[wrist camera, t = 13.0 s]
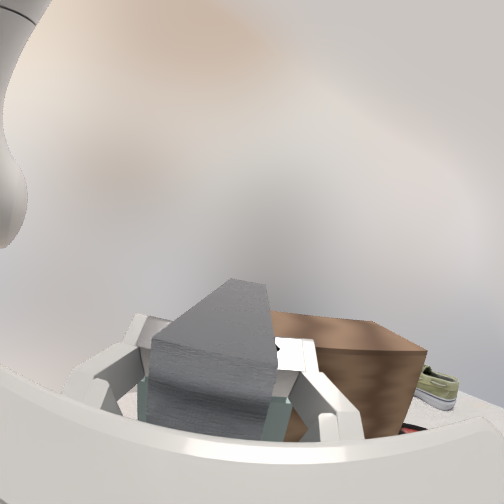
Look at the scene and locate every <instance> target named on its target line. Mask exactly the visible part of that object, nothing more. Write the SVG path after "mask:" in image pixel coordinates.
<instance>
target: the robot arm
mask: <svg viewBox="0 0 504 504" xmlns="http://www.w3.org/2000/svg"><path fill="white" fill-rule="evenodd" d="M51 1H52V0H0V249H1V248H6V247H7V246H8V245H9V244H10V243H11V242H12V241H13V240H14V238H15V237H16V235H17V234H18V232H19V230H20V228H21V226H22V224H23V221H24V218H25V214H26V210H27V201H28V199H27V198H28V193H27V186H26V181H25V178H24V175H23V173H22V170H21V168H20V167H19V165H18V164H17V162H16V161H15V160H14V158H13V156H12V155H11V152H10V150H9V148H8V146H7V142H6V139H5V135H4V129H3V104H4V98H5V93H6V90H7V86H8V83H9V81H10V78H11V75H12V73H13V70H14V68H15V65H16V63H17V61H18V58H19V56H20V54H21V52H22V50H23V48H24V46H25V44H26V42H27V41H28V39H29V37H30V35H31V34H32V32H33V30H34V29H35V27H36V25H37V24H38V22H39V20H40V19H41V17H42V16H43V14H44V12H45V11H46V9H47V7H48V6H49V4H50V3H51ZM172 322H173V321H170V320H166V319H161V318H156V317H152V316H147V315H143V314H139V313H137V314H136V315H135V316H134V318H133V319H132V322H131V323H130V326H129V328H128V330H127V332H126V334H125V336H124V338H123V340H122V342H117V343H115V344H113V345H112V346H110V347H108V348H107V349H105V350H103V351H102V352H100V353H98V354H97V355H95V356H93V357H92V358H90V359H88V360H87V361H85V362H83V363H82V364H80V365H78V366H77V367H75V368H73V370H72V371H71V373H70V376H69V377H68V379H67V381H66V383H65V385H64V387H63V389H62V391H61V393H57V392H55V391H53V390H50V389H48V388H46V387H43V386H41V385H39V384H37V383H35V382H33V381H31V380H29V379H27V378H25V377H23V376H21V375H19V374H17V373H15V372H14V371H12V370H10V369H8V368H6V367H5V366H3V365H1V364H0V504H504V437H503V435H502V433H501V432H500V431H499V430H498V429H497V428H496V427H495V426H494V425H493V424H491V423H490V422H489V421H488V420H487V419H485V418H484V417H481V416H478V417H474V418H470V419H467V420H464V421H460V422H457V423H453V424H449V425H445V426H441V427H437V428H432V429H428V430H423V431H418V432H413V433H407V434H401V435H395V436H388V437H381V438H372V439H365V438H364V432H363V427H362V422H361V417H360V412H359V411H358V410H357V409H356V408H355V407H354V405H353V404H352V403H351V402H350V401H349V400H348V399H347V398H346V397H345V396H344V395H343V394H342V393H341V392H340V391H339V389H338V388H337V387H336V386H335V385H334V384H333V383H332V382H331V381H330V380H329V379H328V378H327V377H326V375H325V374H324V373H323V372H319V368H318V362H317V356H316V350H315V344H314V341H313V339H302V338H300V339H299V338H291V337H280V336H274V337H275V343H276V349H277V355H278V361H279V367H278V371H277V375H276V380H275V384H274V388H273V392H272V396H277V397H288V399H289V401H290V402H291V404H292V405H293V407H294V409H295V410H296V412H297V413H298V415H299V416H300V418H301V419H302V420H303V422H304V423H305V425H306V426H307V428H308V431H307V432H306V433H305V434H304V436H303V437H302V438H301V439H300V441H299V442H272V441H256V440H244V439H234V438H226V437H218V436H211V435H204V434H198V433H192V432H187V431H181V430H176V429H172V428H167V427H162V426H158V425H154V424H150V423H146V422H142V421H138V420H134V419H131V418H127V417H124V416H123V415H122V413H121V411H120V408H119V406H118V404H117V402H116V401H118V400H119V399H120V398H121V397H122V396H123V395H125V394H126V393H127V392H128V391H129V390H130V389H132V388H133V387H134V386H135V385H136V384H138V383H139V382H140V381H141V380H142V379H143V378H145V377H144V376H146V377H148V375H149V362H150V351H151V340H152V337H153V336H154V335H156V334H157V333H158V332H160V331H161V330H162V329H164V328H165V327H166V326H168V325H169V324H170V323H172Z"/></svg>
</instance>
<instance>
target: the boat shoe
mask: <svg viewBox="0 0 504 504" xmlns="http://www.w3.org/2000/svg"><path fill="white" fill-rule="evenodd" d="M458 386H459V380H458V379H457V378H455V377H452V376H449V375H446V374H442V373H437V372H434V371H432V369H431V367H430V366H428V365H426V364H424V365H423V368H422V372H421V375H420V378H419V381H418V384H417V387H416V390H415V393H414V395H415V396H417V397H419V398H421V399H422V400H423V401H425V402H426V403H428V404H429V405H431V406H433V407H435V408H437V409H440V410H449V409H452V408H453V406H454V404H455V403H456V398H457V392H458Z"/></svg>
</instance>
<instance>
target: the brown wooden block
mask: <svg viewBox="0 0 504 504" xmlns="http://www.w3.org/2000/svg"><path fill="white" fill-rule="evenodd" d="M270 313H271V319H272V325H273V331H274V336H280V337H291V338H299V339H300V338H302V339H313V341H314V344H315V350H316V356H317V362H318V368H319V372H323V373H324V374H325V375H326V377H327V378H328V379H329V380H330V381H331V382H332V383H333V384H334V385H335V386H336V387H337V388H338V389H339V391H340V392H341V393H342V394H343V395H344V396H345V397H346V398H347V399H348V400H349V401H350V402H351V403H352V404H353V405H354V407H355V408H356V409H357V410H358V411H359V412H360V417H361V422H362V427H363V432H364V438H365V439H372V438H381V437H388V436H395V435H398V433H399V431H400V429H401V426H402V424H403V422H404V419H405V417H406V414H407V412H408V409H409V406H410V404H411V401H412V398H413V396H414V393H415V390H416V387H417V384H418V381H419V378H420V375H421V372H422V368H423V365H424V362H425V358H426V355H427V350H425V349H424V348H422V347H420V346H418V345H416V344H414V343H412V342H410V341H408V340H406V339H405V338H403V337H401V336H399V335H397V334H395V333H393V332H392V331H389V330H388V329H386V328H384V327H382V326H380V325H378V324H376V323H375V322H373V321H360V320H349V319H338V318H329V317H319V316H310V315H301V314H293V313H284V312H277V311H270ZM307 431H308V428H307V426H306V425H305V423H304V422H303V420H302V419H301V418H300V416H299V415H298V413H297V412H296V410H295V409H294V407H292V411H291V415H290V418H289V422H288V426H287V430H286V433H285V437H284V440H283V442H299V441H300V439H301V438H302V437H303V436H304V434H305V433H306V432H307Z"/></svg>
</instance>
